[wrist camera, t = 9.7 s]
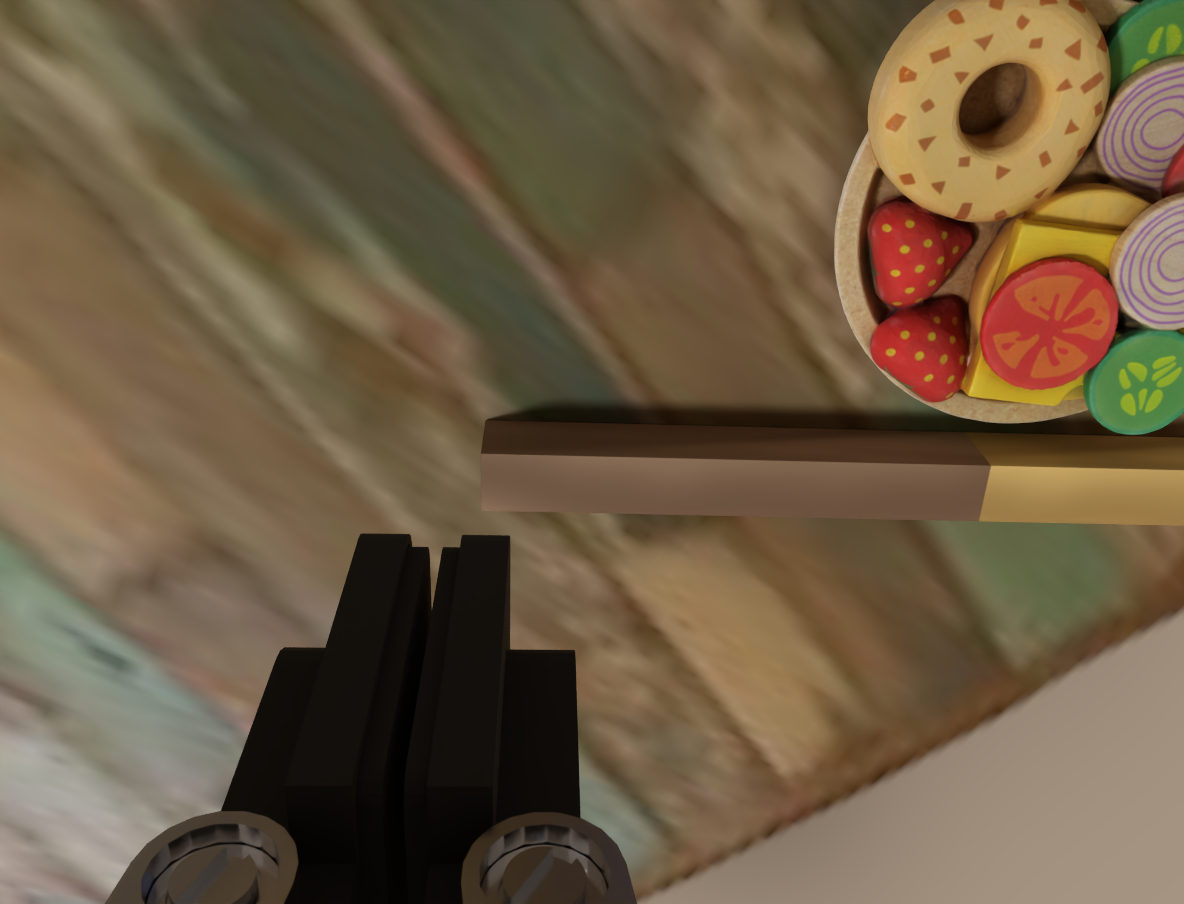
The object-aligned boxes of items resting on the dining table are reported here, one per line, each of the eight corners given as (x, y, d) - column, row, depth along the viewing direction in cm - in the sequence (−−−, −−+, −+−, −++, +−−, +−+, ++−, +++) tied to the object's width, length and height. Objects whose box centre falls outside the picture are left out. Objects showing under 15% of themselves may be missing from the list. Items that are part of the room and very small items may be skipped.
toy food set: (883, -54, 31) (918, -49, 28) (1330, 8, 32) (1408, 18, 29) (788, 388, 37) (808, 429, 34) (1169, 427, 38) (1220, 471, 35)
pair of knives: (484, -172, 29) (478, -179, 27) (1372, -129, 30) (1439, -132, 28) (485, 474, 37) (481, 510, 35) (1181, 489, 38) (1220, 526, 36)
